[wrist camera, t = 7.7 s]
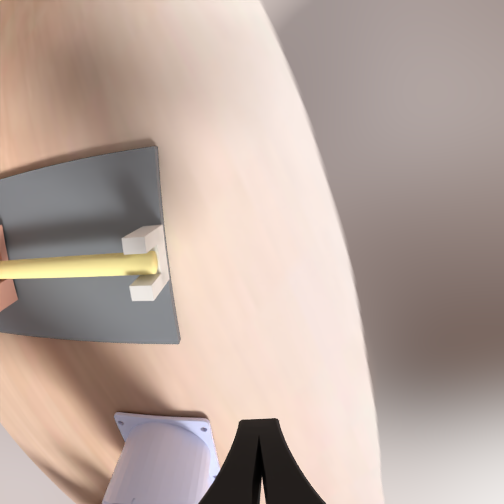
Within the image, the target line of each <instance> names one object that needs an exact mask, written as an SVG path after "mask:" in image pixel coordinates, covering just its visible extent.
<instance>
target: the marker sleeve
mask: <svg viewBox="0 0 504 504" xmlns="http://www.w3.org/2000/svg"><path fill="white" fill-rule="evenodd" d="M6 260H8V255H7V250H6V245H5V239H4V233H3V227H2V225H0V261H6ZM17 300H18V297H17V294H16V290H15V286H14V282H13V279H0V312H1V311H2V310H4V309H5V308H7V307H8V306H9V305H11V304H12V303H14V302H15V301H17Z"/></svg>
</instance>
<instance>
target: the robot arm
mask: <svg viewBox="0 0 504 504" xmlns="http://www.w3.org/2000/svg"><path fill="white" fill-rule="evenodd" d="M114 419H115V421H116V424H117V426H118V428H119V430H120V433H121V435H122V437H123V439H124V441H125V445H124V447H123V450H122V452H121V455H120V457H119V460H118V462H117V465H116V467H115V470H114V472H113V475H112V477H111V480H110V482H109V485H108V488H107V490H106V493H105V495H104V498H103V501H102V503H101V504H260V492H261V480H262V479H263V486H264V493H265V499H266V504H326V503H325V502H324V501H323V500H322V498H321V497H320V496H319V495H318V494H317V492H316V491H315V490H314V488H313V487H312V486H311V484H310V483H309V482H308V480H307V479H306V477H305V476H304V474H303V473H302V471H301V470H300V468H299V466H298V465H297V463H296V461H295V459H294V457H293V455H292V454H291V452H290V450H289V448H288V446H287V443H286V441H285V439H284V436H283V434H282V431H281V428H280V424H279V420H278V419H276V418H272V419H251V420H241V421H240V422H239V425H238V429H237V433H236V436H235V439H234V441H233V444H232V446H231V449H230V451H229V453H228V455H227V457H226V460H225V462H224V464H223V466H222V468H221V469H220V465H219V461H218V457H217V452H216V448H215V444H214V439H213V434H212V430H211V425H210V422H209V420H208V419H206V418H188V417H168V416H153V415H142V414H132V413H123V412H116V413H115V415H114ZM121 421H122V422H121ZM202 427H204V428H202Z"/></svg>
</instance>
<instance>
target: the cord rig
mask: <svg viewBox="0 0 504 504" xmlns="http://www.w3.org/2000/svg"><path fill="white" fill-rule="evenodd" d="M0 225H2V227H3V233H4V239H5V245H6V250H7V255H8V260H6V261H0V279H13V282H14V286H15V290H16V294H17V297H18V300H17V301H15V302H14V303H12V304H11V305H9V306H8V307H7V308H5V309H4V310H2V311H1V312H0V332H2V333H10V334H18V335H26V336H34V337H44V338H54V339H66V340H78V341H93V342H111V343H138V344H179V342H180V340H181V338H180V333H179V327H178V321H177V315H176V309H175V303H174V297H173V290H172V283H171V276H170V269H169V261H168V254H167V246H166V237H165V228H164V219H163V209H162V199H161V188H160V175H159V161H158V147H156V146H152V147H146V148H139V149H133V150H126V151H120V152H115V153H109V154H104V155H98V156H93V157H88V158H83V159H78V160H74V161H69V162H65V163H60V164H56V165H52V166H48V167H44V168H40V169H36V170H32V171H28V172H25V173H21V174H17V175H14V176H10V177H7V178H3V179H0Z"/></svg>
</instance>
